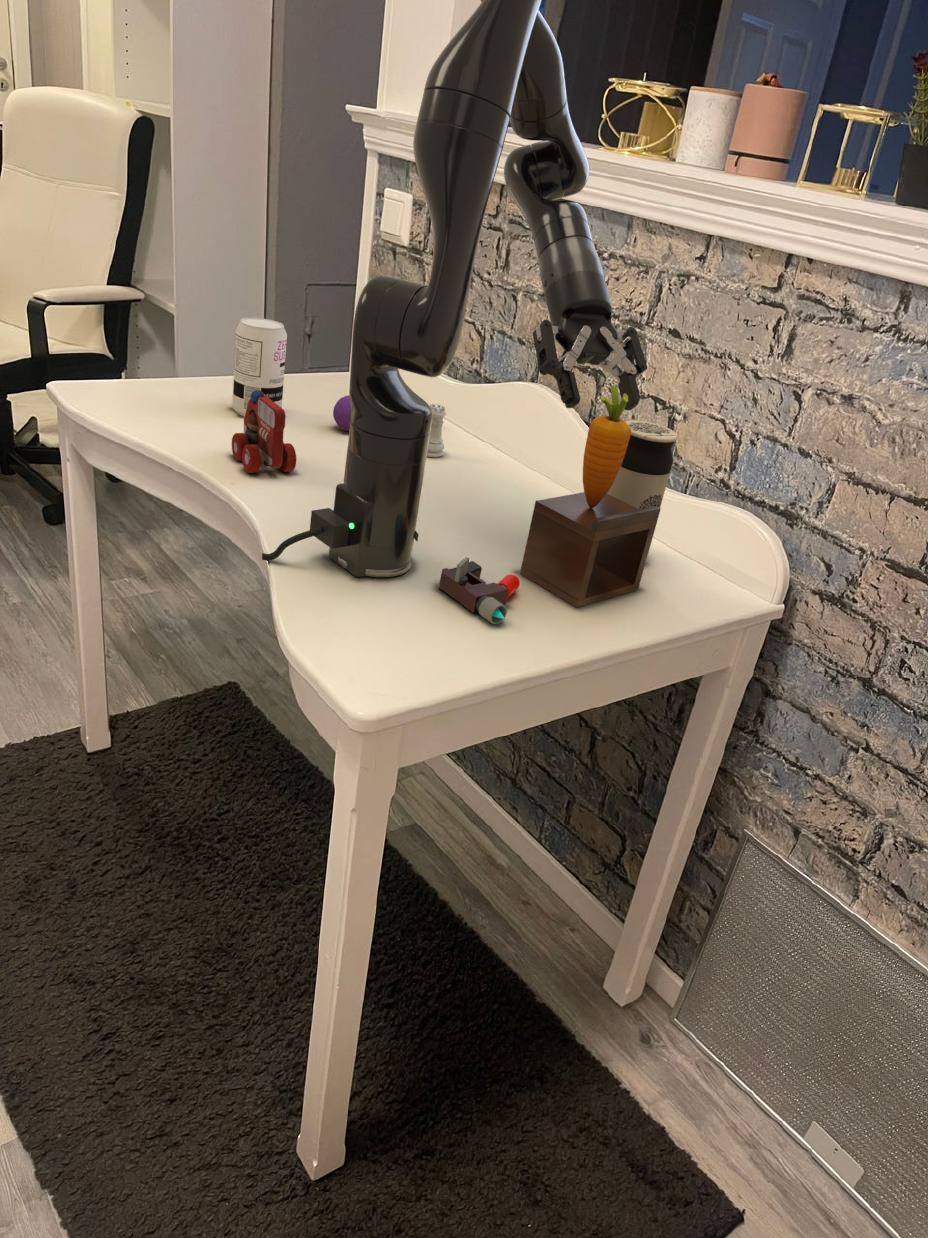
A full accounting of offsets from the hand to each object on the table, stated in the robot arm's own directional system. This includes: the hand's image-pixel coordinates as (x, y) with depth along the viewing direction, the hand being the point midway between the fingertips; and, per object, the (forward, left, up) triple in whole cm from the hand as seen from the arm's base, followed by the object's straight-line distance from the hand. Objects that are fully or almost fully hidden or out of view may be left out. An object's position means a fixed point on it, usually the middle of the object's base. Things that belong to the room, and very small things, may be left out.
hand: (603, 406), depth 112 cm
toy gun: (-15, -2, -22) cm, 27 cm away
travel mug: (+12, +1, -22) cm, 25 cm away
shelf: (0, -3, -22) cm, 22 cm away
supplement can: (-6, +67, -22) cm, 71 cm away
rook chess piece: (+12, +42, -22) cm, 49 cm away
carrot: (-1, -2, -12) cm, 13 cm away
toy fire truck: (-18, +45, -22) cm, 54 cm away
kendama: (+12, +55, -22) cm, 61 cm away
